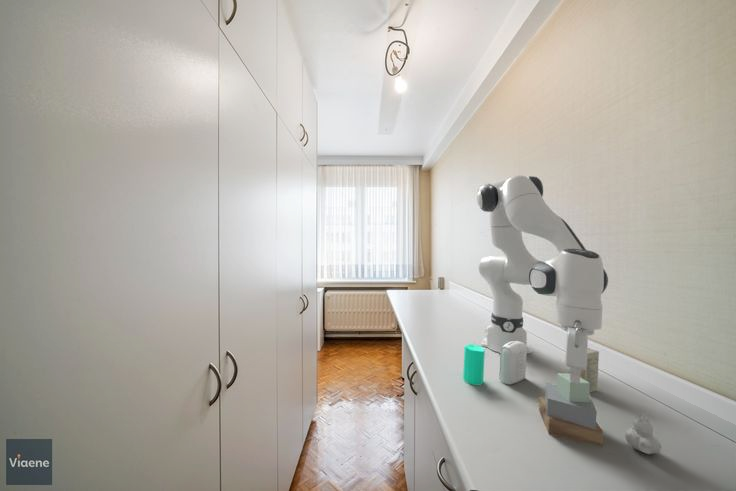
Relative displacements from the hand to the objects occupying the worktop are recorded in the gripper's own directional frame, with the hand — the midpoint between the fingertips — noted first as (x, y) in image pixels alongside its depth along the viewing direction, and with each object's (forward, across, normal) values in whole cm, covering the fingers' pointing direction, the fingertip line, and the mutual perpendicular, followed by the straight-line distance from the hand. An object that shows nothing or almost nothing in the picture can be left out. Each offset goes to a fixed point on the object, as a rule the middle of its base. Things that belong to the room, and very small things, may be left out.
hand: (575, 374), depth 67 cm
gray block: (+9, -1, +1) cm, 9 cm away
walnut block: (+13, -1, +1) cm, 13 cm away
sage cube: (+5, 0, 0) cm, 5 cm away
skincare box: (+13, +25, -2) cm, 29 cm away
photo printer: (+13, +17, +16) cm, 27 cm away
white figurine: (+13, 0, -12) cm, 18 cm away
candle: (+13, +8, +26) cm, 30 cm away
